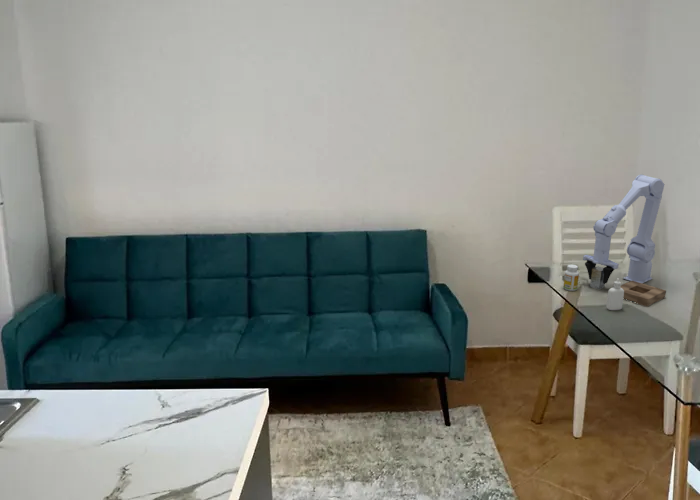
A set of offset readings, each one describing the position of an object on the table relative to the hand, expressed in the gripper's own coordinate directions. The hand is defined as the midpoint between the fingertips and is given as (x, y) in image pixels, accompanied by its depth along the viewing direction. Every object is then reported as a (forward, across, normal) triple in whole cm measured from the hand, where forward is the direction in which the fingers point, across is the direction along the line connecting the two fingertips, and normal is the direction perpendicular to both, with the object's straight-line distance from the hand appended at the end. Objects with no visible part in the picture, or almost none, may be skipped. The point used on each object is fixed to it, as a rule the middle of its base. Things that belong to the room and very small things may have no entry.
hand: (598, 280), depth 262 cm
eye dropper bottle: (+3, +16, -15) cm, 22 cm away
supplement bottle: (+3, -6, -10) cm, 12 cm away
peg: (+3, 0, 0) cm, 3 cm away
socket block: (+3, +16, +3) cm, 16 cm away
